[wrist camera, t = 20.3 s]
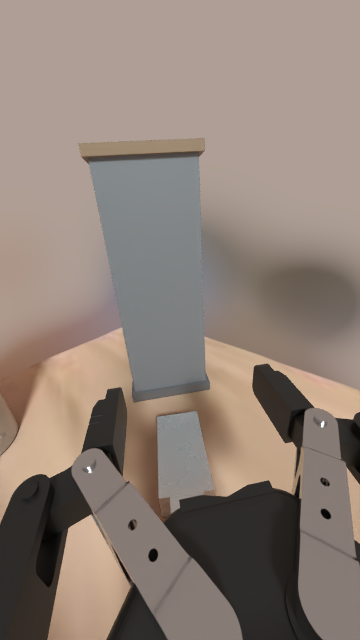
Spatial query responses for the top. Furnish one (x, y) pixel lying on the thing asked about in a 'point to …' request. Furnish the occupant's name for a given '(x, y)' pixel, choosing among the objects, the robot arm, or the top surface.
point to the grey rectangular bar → (181, 461)
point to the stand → (155, 257)
